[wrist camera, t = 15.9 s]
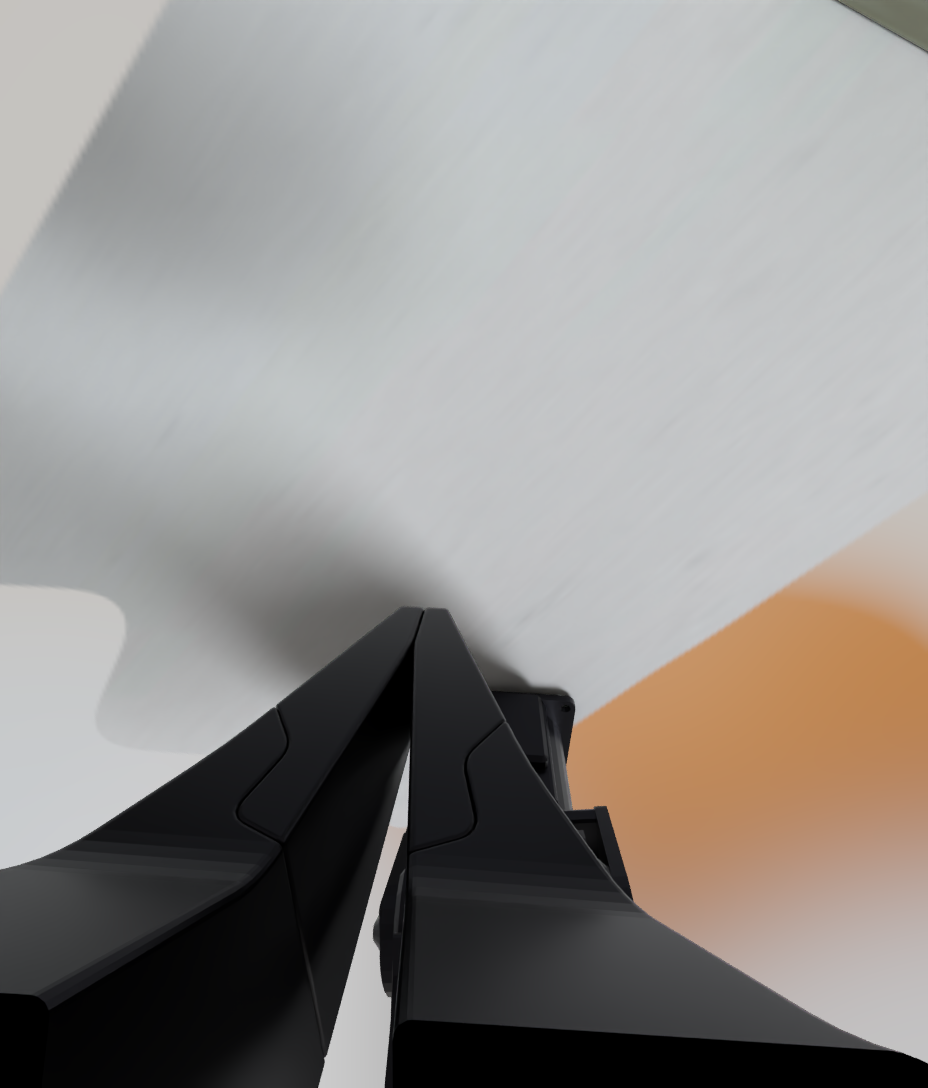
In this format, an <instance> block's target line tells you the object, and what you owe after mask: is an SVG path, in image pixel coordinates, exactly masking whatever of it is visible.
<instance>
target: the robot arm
mask: <svg viewBox="0 0 928 1088" xmlns="http://www.w3.org/2000/svg"><path fill="white" fill-rule="evenodd" d="M563 705H568V706H567V707H562V706H563ZM574 715H575V704H574V700H573V699H572V698H571V697H569V696H560V695H544V694H528V693H512V692H496V691H490V689H489V687H488V685H487V683H486V681H485V679H484V677H483V675H482V674H481V672H480V670H479V668H478V666H477V664H476V662H475V660H474V658H473V656H472V654H471V653H470V651H469V649H468V647H467V645H466V643H465V641H464V639H463V637H462V635H461V634H460V632H459V630H458V628H457V626H456V624H455V622H454V620H453V618H452V616H451V615H450V613H449V611H448V610H447V609H444V608H426V609H425V611H424V609H423V608H421V607H408V606H403V607H401V608H399V609H398V610H397V611H395V612H394V613H393V614H391V615H390V616H389V617H388V618H386V619H385V620H384V621H383V622H381V623H380V624H379V625H377V626H376V627H375V628H374V629H372V630H371V631H370V632H369V633H367V634H366V635H365V636H363V637H362V638H361V639H360V640H358V641H357V642H356V643H355V644H353V645H352V646H351V647H349V648H348V649H347V650H346V651H344V652H343V653H342V654H341V655H339V656H338V657H337V658H335V659H334V660H333V661H332V662H330V663H329V664H328V665H327V666H325V667H324V668H323V669H321V670H320V671H319V672H318V673H316V674H315V675H314V676H313V677H311V678H310V679H309V680H307V681H306V682H305V683H304V684H302V685H301V686H300V687H299V688H297V689H296V690H295V691H293V692H292V693H291V694H290V695H288V696H287V697H286V698H285V699H283V700H282V701H281V702H279V703H278V704H277V705H276V708H272V709H270V710H269V711H268V712H266V713H265V714H264V715H263V716H261V717H260V718H259V719H258V720H256V721H255V722H254V723H252V724H251V725H250V726H248V727H247V728H246V729H244V730H243V731H242V732H240V733H239V734H238V735H236V736H235V737H234V738H232V739H231V740H230V741H228V742H227V743H226V744H224V745H223V746H221V747H220V748H218V749H217V750H215V751H214V752H212V753H211V754H209V755H208V756H206V757H205V758H204V759H202V760H201V761H199V762H198V763H196V764H195V765H193V766H192V767H190V768H189V769H188V770H186V771H184V772H183V773H181V774H180V775H178V776H177V777H175V778H174V779H172V780H171V781H169V782H167V783H166V784H164V785H163V786H161V787H160V788H158V789H157V790H155V791H154V792H152V793H151V794H149V795H148V796H146V797H145V798H143V799H142V800H140V801H138V802H137V803H136V804H134V805H132V806H131V807H129V808H128V809H126V810H125V811H123V812H122V813H120V814H119V815H117V816H116V817H114V818H113V819H111V820H109V821H108V822H106V823H105V824H103V825H102V826H100V827H99V828H97V829H96V830H94V831H93V832H91V833H89V834H88V835H86V836H84V837H83V838H81V839H79V840H78V841H76V842H74V843H72V844H70V845H68V846H66V847H64V848H62V849H60V850H58V851H56V852H54V853H51V854H49V855H46V856H44V857H42V858H39V859H36V860H33V861H30V862H27V863H24V864H21V865H17V866H13V867H9V868H6V869H1V870H0V1088H318V1085H319V1082H320V1078H321V1074H322V1071H323V1067H324V1063H325V1061H324V1057H326V1055H327V1052H328V1048H329V1044H330V1041H331V1037H332V1033H333V1030H334V1026H335V1022H336V1018H337V1015H338V1011H339V1007H340V1004H341V1000H342V996H343V993H344V989H345V985H346V982H347V978H348V974H349V970H350V967H351V963H352V959H353V956H354V952H355V948H356V944H357V941H358V937H359V933H360V930H361V926H362V922H363V919H364V915H365V911H366V907H367V904H368V900H369V896H370V892H371V889H372V885H373V882H374V878H375V874H376V870H377V866H378V863H379V859H380V856H381V852H382V848H383V844H384V841H385V837H386V833H387V830H388V826H389V822H390V819H391V815H392V811H393V808H394V804H395V800H396V796H397V793H398V789H399V785H400V782H401V778H402V774H403V771H404V767H405V763H406V759H407V756H408V752H409V748H410V767H409V800H408V827H407V830H406V833H404V834H403V837H402V841H401V843H400V847H399V849H398V853H397V856H396V859H395V862H394V864H393V868H392V870H391V873H390V877H389V880H388V882H387V885H386V888H385V892H384V894H383V898H382V901H381V904H380V909H379V916H378V918H377V920H376V922H375V924H374V929H373V939H374V942H375V943H376V945H377V947H378V948H379V950H380V970H381V978H382V984H383V987H384V991H385V993H386V994H387V996H388V997H391V1024H390V1035H389V1046H388V1057H387V1067H386V1077H385V1088H928V1063H926V1062H923V1061H921V1060H919V1059H917V1058H914V1057H911V1056H909V1055H906V1054H904V1053H901V1052H898V1051H895V1050H892V1049H888V1048H886V1047H882V1046H879V1045H876V1044H873V1043H871V1042H869V1041H866V1040H864V1039H862V1038H859V1037H857V1036H855V1035H852V1034H850V1033H848V1032H845V1031H843V1030H841V1029H839V1028H837V1027H835V1026H833V1025H831V1024H829V1023H827V1022H825V1021H824V1020H822V1019H820V1018H818V1017H817V1016H815V1015H813V1014H811V1013H809V1012H807V1011H806V1010H804V1009H803V1008H801V1007H799V1006H798V1005H796V1004H794V1003H793V1002H791V1001H789V1000H788V999H786V998H784V997H783V996H781V995H779V994H778V993H776V992H775V991H773V990H771V989H770V988H768V987H766V986H765V985H763V984H761V983H760V982H758V981H756V980H755V979H753V978H751V977H750V976H748V975H746V974H745V973H743V972H742V971H740V970H738V969H736V968H735V967H733V966H732V965H730V964H728V963H726V962H725V961H723V960H722V959H720V958H718V957H717V956H715V955H713V954H712V953H710V952H708V951H707V950H705V949H704V948H702V947H700V946H698V945H697V944H695V943H694V942H692V941H690V940H689V939H687V938H685V937H684V936H682V935H680V934H679V933H677V932H675V931H674V930H672V929H670V928H669V927H667V926H666V925H664V924H662V923H661V922H659V921H657V920H655V919H654V918H652V917H651V916H649V915H648V914H647V913H646V912H645V911H643V910H642V909H641V908H640V907H639V906H637V905H636V904H635V903H634V902H633V898H632V893H631V889H630V885H629V881H628V877H627V874H626V871H625V867H624V864H623V860H622V857H621V854H620V850H619V847H618V843H617V840H616V837H615V833H614V830H613V827H612V824H611V820H610V817H609V813H608V810H607V807H606V806H597V807H594V809H585V810H573V808H572V802H571V796H570V789H569V783H568V777H567V771H566V763H567V757H568V751H569V745H570V738H571V733H572V727H573V721H574Z"/></svg>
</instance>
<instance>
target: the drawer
mask: <svg viewBox="0 0 928 1088" xmlns="http://www.w3.org/2000/svg"><path fill="white" fill-rule="evenodd" d="M838 1H839V2H841V3H843V4H845V5H847V6H848V7H850V8H852V9H854V10H855V11H857V12H859V13H861V14H862V15H864V16H866V17H868V18H869V19H871V20H873V21H875V22H877V23H878V24H880V25H882V26H884V27H885V28H887V29H889V30H891V31H892V32H894V33H896V34H898V35H899V36H901V37H903V38H905V39H907V40H908V41H910V42H912V43H914V44H915V45H917V46H919V47H921V48H922V49H924V50H926V51H928V0H838Z"/></svg>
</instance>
